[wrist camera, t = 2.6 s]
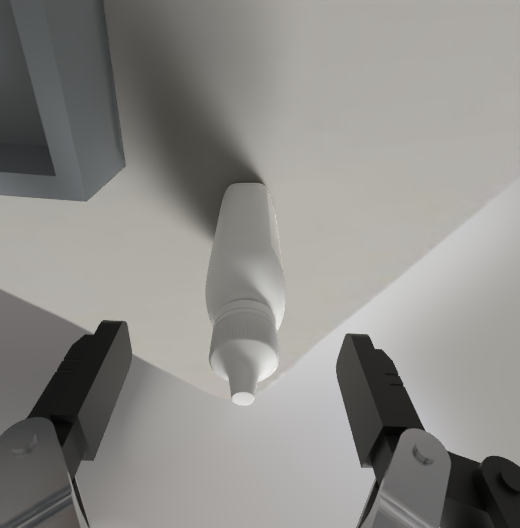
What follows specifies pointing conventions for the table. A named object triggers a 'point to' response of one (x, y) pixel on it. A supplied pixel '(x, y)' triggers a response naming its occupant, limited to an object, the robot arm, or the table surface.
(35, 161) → the box
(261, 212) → the eye dropper bottle
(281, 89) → the table surface
